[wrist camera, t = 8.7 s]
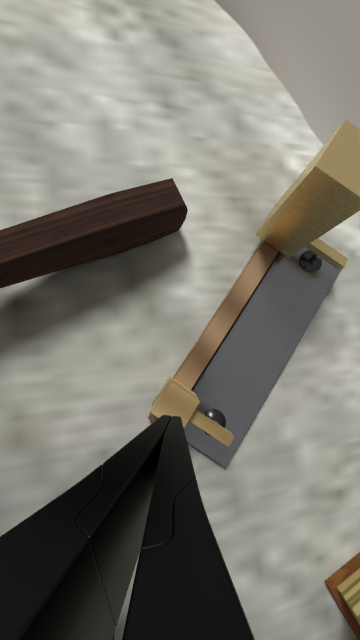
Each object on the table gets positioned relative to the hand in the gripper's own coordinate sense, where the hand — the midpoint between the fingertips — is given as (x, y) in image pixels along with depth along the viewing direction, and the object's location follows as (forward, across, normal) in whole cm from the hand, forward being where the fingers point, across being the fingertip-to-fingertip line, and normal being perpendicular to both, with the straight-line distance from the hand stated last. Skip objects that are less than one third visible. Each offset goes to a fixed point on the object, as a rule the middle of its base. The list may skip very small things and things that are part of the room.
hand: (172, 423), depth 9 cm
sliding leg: (+20, +11, +7) cm, 24 cm away
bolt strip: (+15, +7, -2) cm, 17 cm away
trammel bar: (+15, +5, -1) cm, 16 cm away
